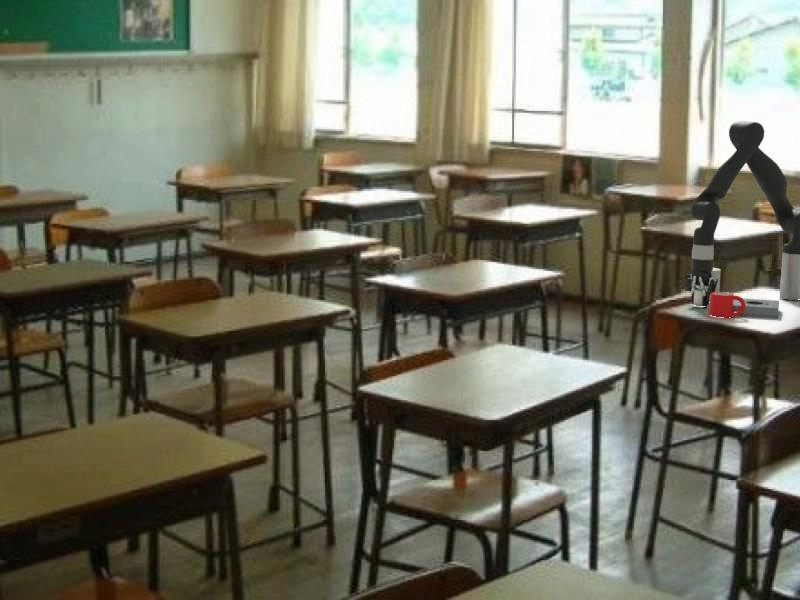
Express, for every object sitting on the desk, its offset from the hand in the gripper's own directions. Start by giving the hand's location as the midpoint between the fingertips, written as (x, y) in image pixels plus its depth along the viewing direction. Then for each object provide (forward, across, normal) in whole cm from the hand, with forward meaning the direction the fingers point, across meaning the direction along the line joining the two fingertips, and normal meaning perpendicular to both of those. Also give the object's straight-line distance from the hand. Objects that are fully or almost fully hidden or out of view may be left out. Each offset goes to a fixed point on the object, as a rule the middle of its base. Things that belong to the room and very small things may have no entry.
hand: (699, 304), depth 464 cm
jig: (+1, -17, -9) cm, 19 cm away
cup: (+1, +7, -11) cm, 13 cm away
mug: (+1, -18, +5) cm, 18 cm away
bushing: (+1, 0, 0) cm, 1 cm away
